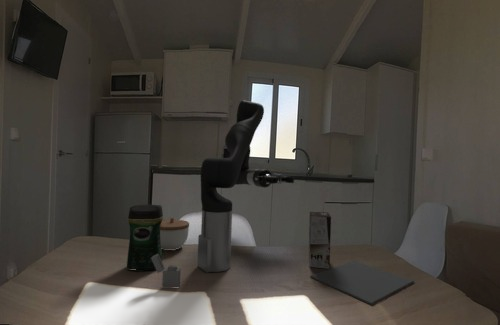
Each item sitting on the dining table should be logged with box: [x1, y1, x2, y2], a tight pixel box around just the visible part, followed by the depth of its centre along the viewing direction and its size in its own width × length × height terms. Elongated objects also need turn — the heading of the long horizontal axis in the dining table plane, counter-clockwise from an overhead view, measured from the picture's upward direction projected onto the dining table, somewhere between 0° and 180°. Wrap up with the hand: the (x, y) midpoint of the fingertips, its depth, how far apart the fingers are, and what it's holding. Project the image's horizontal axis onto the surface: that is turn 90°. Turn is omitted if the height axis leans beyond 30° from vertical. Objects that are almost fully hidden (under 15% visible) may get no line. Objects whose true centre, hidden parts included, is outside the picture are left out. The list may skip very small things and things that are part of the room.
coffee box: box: [308, 211, 332, 270], centre depth 86 cm, size 9×6×16 cm
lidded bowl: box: [160, 217, 190, 249], centre depth 98 cm, size 13×13×11 cm
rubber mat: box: [309, 260, 415, 306], centre depth 74 cm, size 22×18×1 cm
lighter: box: [151, 254, 182, 288], centre depth 66 cm, size 7×2×8 cm, turn 91°
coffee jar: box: [126, 204, 164, 271], centre depth 79 cm, size 10×8×19 cm
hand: (285, 180), depth 100 cm, fingers open, 8 cm apart
